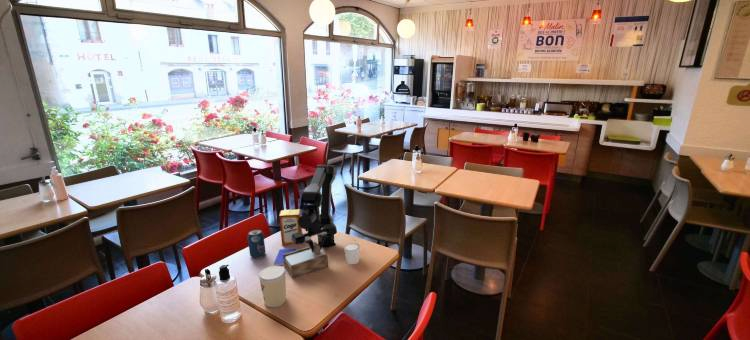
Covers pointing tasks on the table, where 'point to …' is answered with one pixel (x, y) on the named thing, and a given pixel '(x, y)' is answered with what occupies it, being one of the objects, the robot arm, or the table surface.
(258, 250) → the soda can
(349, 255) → the shot glass
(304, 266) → the wooden box
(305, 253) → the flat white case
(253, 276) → the table surface
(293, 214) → the baking soda box
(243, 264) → the table surface
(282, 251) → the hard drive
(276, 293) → the coffee cup
